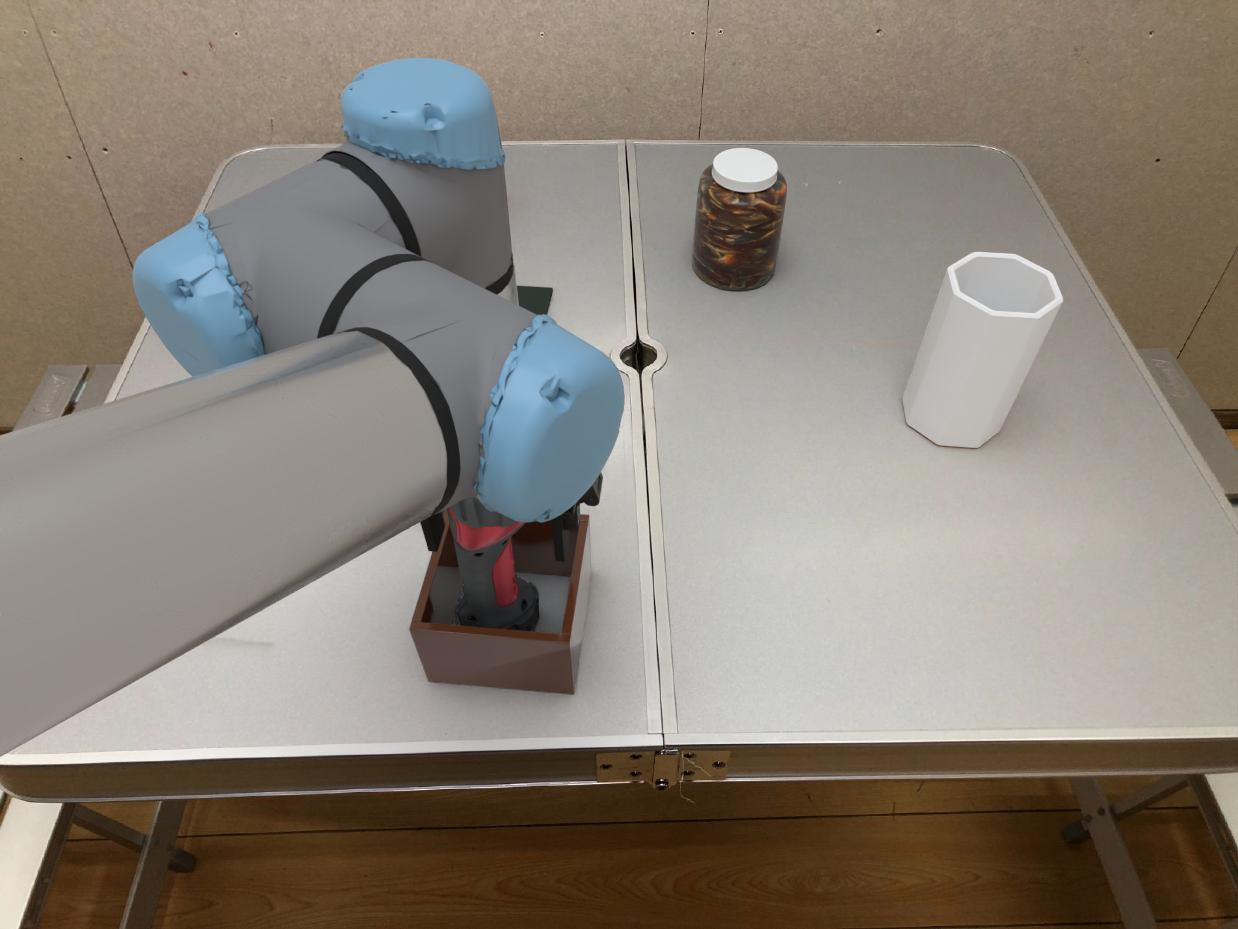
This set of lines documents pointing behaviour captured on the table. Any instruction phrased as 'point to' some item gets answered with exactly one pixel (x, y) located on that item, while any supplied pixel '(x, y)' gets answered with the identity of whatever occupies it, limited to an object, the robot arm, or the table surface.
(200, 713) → the table surface
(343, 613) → the table surface
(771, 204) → the jar
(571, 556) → the brown open box
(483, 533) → the flashlight
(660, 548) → the table surface
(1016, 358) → the cup
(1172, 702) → the table surface
